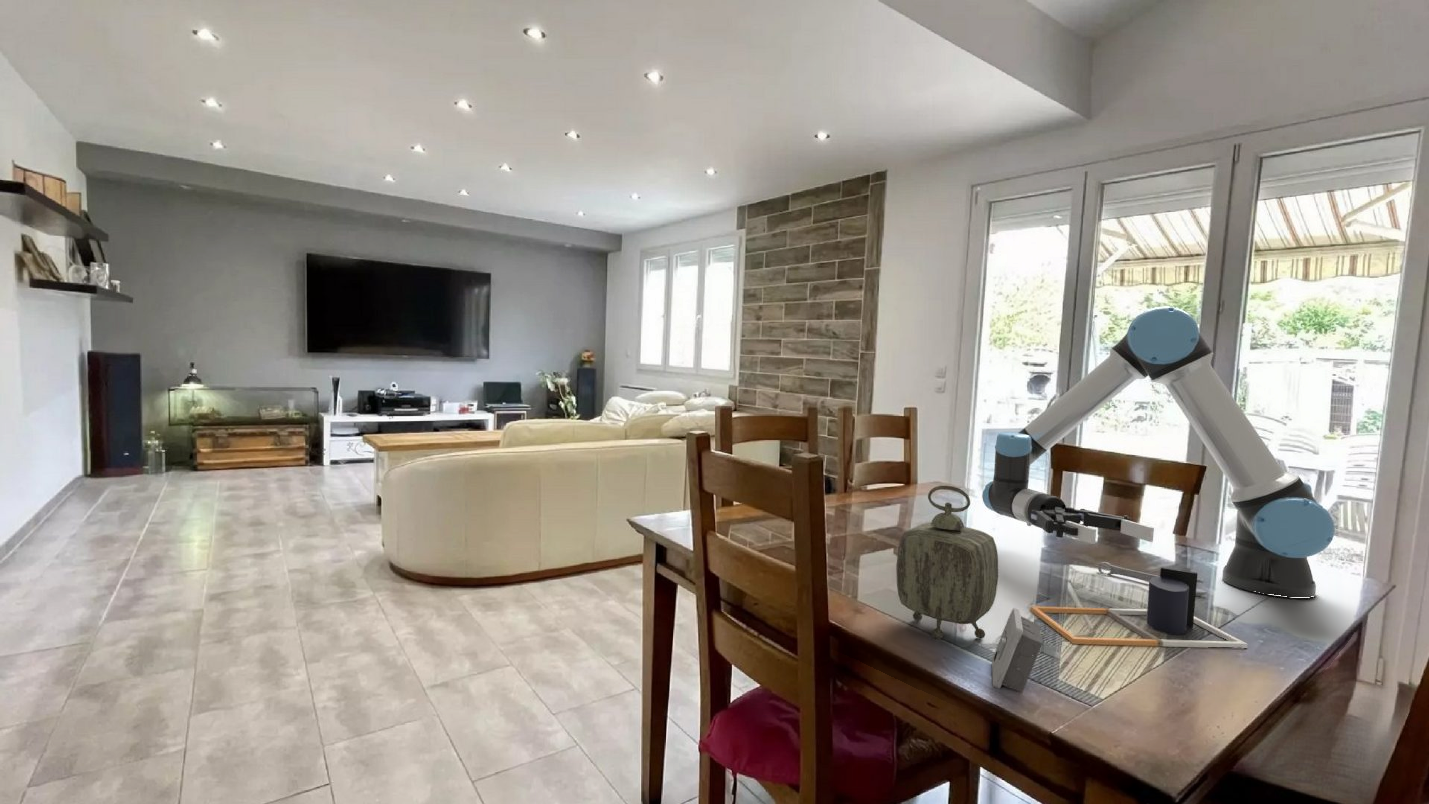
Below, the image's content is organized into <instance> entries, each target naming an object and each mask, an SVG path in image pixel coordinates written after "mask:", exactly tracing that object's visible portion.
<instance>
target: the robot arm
mask: <svg viewBox="0 0 1429 804" xmlns="http://www.w3.org/2000/svg"><path fill="white" fill-rule="evenodd" d="M1213 356H1214V352H1213V350H1212V348H1210V346H1209V345H1208V343H1207V342H1206V340H1205V339H1204V337H1203V336H1202V335H1201V333H1200V329H1199V327H1198V323H1197V321H1196V320H1195V319H1194V317H1192V315H1191V314H1190V313H1188V312H1187V311H1184V310H1183V309H1180V308H1178V307H1175V306H1169V305H1167V306H1156V307H1151V308H1150V309H1147V310H1145V311H1143V312H1142V313H1140V314H1139V315H1136V317H1135V318H1134V319H1133V320H1132V321H1131V322H1130V324H1129V326H1128V330H1127V333H1125V335H1123V337H1122V338H1121V339H1120V340H1119V341H1118V342H1117V343H1116V344H1115V345H1114V346H1112V348H1111V349H1110V351H1109V356H1108V357H1107V358H1106V359H1104V360H1103V361H1101V363H1099V364H1098V365H1097V366H1096V367H1095V368H1094V369H1093V370H1091V371H1090V372H1089V373H1088V374H1086V375H1085V376H1084V377H1083V378H1082V379H1080V380H1079V381H1078V382H1077V383H1076V384H1074V386H1073V387H1070V388H1069V390H1068V391H1066V392H1065V393H1063V394H1062V396H1060V397H1058V399H1057V400H1055V402H1053V403H1052V404H1051V405H1050V406H1049V407H1047V408H1046V409H1045V410H1044V411H1042V412H1041V413H1040V414H1039V415H1038V416H1036V418H1034V419H1033V420H1032V421H1030V423H1028V424H1027V425H1026V426H1024V428H1023V429H1021V430H1020V431H1019V432H1000V433H997V434H998V435H997V436H996V440H995V441H996V442H995V445H994V449H995V451H994V452H995V453H994V454H995V455H994V470H993V471H994V473H993V478H992V480H991V481H990V482H988V483H987V484H986V485H985V487H984V489H983V491H982V494H981V499H982V503H983V504H984V506H985V507H986V508H987V509H989V510H990V511H993V512H995V513H997V514H998V515H1001V516H1005V517H1008V518H1011V519H1014V520H1017V521H1020V522H1023V523H1025V524H1026V525H1027V526H1028V527H1032V526H1034V527H1036V528H1040V529H1042V530H1043V531H1044V532H1046V533H1048V534H1053V533H1054V532H1056V533H1055V534H1056V535H1055V537H1057V538H1064V535H1065V536H1067V537H1070V538H1073V539H1076V540H1079V541H1082V542H1084V543H1087V544H1091V545H1095V544H1096V538H1097V529H1102V530H1103V529H1105V530H1110V531H1117V532H1120V534H1123V535H1126V536H1131V537H1132V538H1137V539H1140V540H1142V541H1146V542H1149V543H1153V542H1154V531H1155V527H1153V526H1148V525H1146V524H1142V523H1138V522H1135V521H1133V520H1132V518H1131V517H1129V516H1128V515H1125V514H1124V515H1123V516H1121V515H1114V514H1111V513H1110V514H1109V513H1104V512H1098V511H1092V510H1090V509H1085V508H1080V509H1077V508H1076V509H1075V507H1070V506H1067V505H1066V503H1065V502H1064V501H1063V500H1062V499H1061V498H1060V497H1059V496H1057V495H1052V494H1047V493H1046V492H1043V491H1042V492H1041V491H1038V490H1036V489H1035V490H1034V489H1030V488H1029V480H1030V479H1029V478H1030V466H1031V465H1032V464H1033V463H1035V461H1037V460H1038V459H1039V458H1040V457H1041V456H1043V455H1044V454H1045V453H1046V452H1047V451H1049V450H1050V449H1052V448H1053V446H1055V445H1056V444H1057V443H1059V441H1061V440H1062V439H1063V438H1065V437H1066V436H1067V435H1069V434H1070V433H1071V432H1073V430H1075V429H1076V428H1077V427H1078V426H1079V425H1081V424H1082V423H1083V422H1085V421H1086V420H1087V419H1088V418H1089V417H1091V416H1092V415H1093V414H1095V413H1096V412H1097V411H1099V410H1100V409H1101V408H1102V407H1103V406H1105V405H1106V404H1107V403H1108V402H1109V401H1111V400H1112V399H1113V398H1114V397H1116V396H1117V395H1119V393H1121V392H1123V390H1125V389H1126V388H1127V387H1128V386H1129V385H1132V383H1134V381H1137V380H1143V379H1146V378H1147V377H1149V379H1150V380H1151V381H1152V382H1154V383H1157V384H1161V385H1164V386H1165V387H1166V389H1167V390H1168V392H1169V393H1170V396H1171V397H1172V398H1173V399H1174V401H1175V403H1176V405H1178V407H1179V409H1180V410H1181V411H1182V413H1183V414H1184V417H1185V418H1186V419H1187V421H1188V422H1189V424H1190V426H1191V427H1192V428H1193V430H1194V431H1195V433H1196V434H1197V436H1198V437H1199V438H1200V440H1201V442H1202V444H1204V446H1205V448H1206V449H1207V451H1208V452H1209V454H1210V455H1211V457H1212V459H1213V460H1214V461H1215V462H1216V464H1217V466H1218V467H1219V469H1220V470H1221V471H1222V473H1223V475H1224V476H1225V478H1226V479H1227V480H1228V483H1229V484H1230V485H1231V487H1232V488H1233V489H1232V493H1231V496H1230V499H1229V500H1230V501H1231V503H1232V504H1233V506H1234V507H1235V509H1236V510H1237V514H1236V523H1235V524H1236V525H1235V526H1236V527H1235V541H1234V547H1233V548H1232V551H1231V552H1230V555H1229V557H1228V560H1227V563H1226V565H1224V567H1222V568H1223V569H1222V577H1221V579H1222V581H1223V582H1224V583H1227V584H1228V585H1230V586H1233V587H1236V588H1238V589H1241V588H1242V589H1241V590H1244V589H1245V591H1248V592H1251V591H1256V592H1260V593H1264V594H1263V595H1265V594H1274V595H1281V596H1287V597H1311V596H1314V595H1315V596H1316V591H1317V584H1316V581H1314V578H1313V574H1312V570H1311V565H1310V564H1309V561H1308V557H1309V558H1310V557H1311V556H1315V555H1318V554H1319V553H1321V552H1324V551H1325V549H1327V547H1328V546H1329V545H1330V544H1331V542H1332V541H1333V539H1334V536H1335V532H1336V531H1335V524H1334V520H1333V517H1332V515H1331V514H1330V513H1329V511H1328V510H1327V509H1326V508H1324V507H1323V505H1321V504H1320V503H1318V501H1317V500H1316V499H1315V497H1314V495H1313V492H1312V491H1313V490H1312V486H1311V485H1310V484H1308V483H1306V482H1303V480H1302V479H1301V477H1300V476H1299V475H1298V474H1295V473H1293V472H1288V471H1286V470H1283V468H1282V467H1281V464H1280V463H1279V462H1278V461H1277V459H1276V458H1275V456H1274V455H1273V454H1272V452H1271V451H1270V449H1269V448H1268V446H1267V445H1266V443H1265V442H1264V441H1263V439H1262V437H1261V436H1260V435H1259V433H1258V432H1257V430H1256V429H1255V427H1254V426H1253V424H1252V423H1251V421H1250V420H1249V419H1248V417H1247V416H1246V414H1245V413H1244V412H1243V410H1242V408H1241V407H1240V405H1239V404H1238V403H1237V401H1236V400H1235V399H1234V397H1233V395H1232V394H1231V393H1230V391H1229V390H1228V388H1227V386H1226V385H1225V384H1224V382H1223V381H1222V379H1221V378H1220V377H1219V375H1218V374H1217V372H1216V370H1215V369H1214V368H1213V366H1212V364H1211V361H1212V359H1213ZM1096 528H1097V529H1096ZM1260 593H1259V594H1260Z"/></svg>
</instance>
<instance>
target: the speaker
mask: <svg viewBox="0 0 1429 804" xmlns="http://www.w3.org/2000/svg"><path fill="white" fill-rule="evenodd" d="M1159 572H1160V573H1159V576H1160V577H1152V578H1151V579H1150V580H1149V581H1148V590H1147V591H1148V594H1147V595H1148V596H1147V608H1146V609H1147V615H1146V624H1147V626H1149V627H1150V628H1152V629H1153V630H1155V631H1158V632H1161V633H1164V634H1166V635H1184V633H1185V632H1186V631H1187V628H1188V629H1190V628H1191V629H1194V623H1193V621H1194V616H1195V608H1196V597H1197V596H1196V591H1197V587H1198V586H1197V585H1198V583H1197V578H1198V574H1199V573H1198V572H1194V571H1188V570H1182V569H1176V568H1170V567H1163V566H1160V571H1159Z"/></svg>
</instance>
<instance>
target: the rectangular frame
mask: <svg viewBox="0 0 1429 804" xmlns="http://www.w3.org/2000/svg"><path fill="white" fill-rule="evenodd" d="M1029 607H1030V609H1029V611H1030V612H1031V613H1033V614H1034V615H1035V616H1037V617H1038V618H1039V619H1040V620H1042V621H1044V622H1045V623H1046V624H1047V625H1048V626H1050V627H1051V628H1052V629H1053V630H1055V631H1056V632H1057V633H1059V634H1060V635H1061V636H1062V637H1064V638H1065V639H1066V640H1068V641H1069V642H1070V643H1072V644H1073V645H1101V646H1104V645H1106V646H1108V645H1109V646H1135V647H1136V646H1137V647H1139V646H1142V647H1144V646H1145V647H1170V648H1171V647H1175V648H1178V647H1179V648H1181V647H1182V648H1208V647H1243V648H1242V649H1244V648H1247V649H1248V643H1246V642H1244V640H1241V639H1239V638H1237V637H1235V636H1233V635H1231V634H1229V633H1227V632H1225V631H1223V630H1222V629H1219V628H1217V627H1216V626H1214V625H1212V624H1210V623H1208V622H1206V621H1205V620H1202V619H1200V618H1198V617H1197V616H1195V615H1194V621H1193V624H1196V625H1197V626H1199V627H1201V628H1203V629H1205V630H1207V631H1208V632H1210V633H1212V634H1214V635H1215V636H1218V637H1220V638H1221V637H1222V639H1223V638H1224V639H1223V640H1194V639H1193V640H1192V639H1190V640H1189V639H1188V640H1187V639H1160V638H1158V637H1156V636H1155V635H1153V634H1151V633H1150V632H1148V631H1147V630H1146V629H1143V628H1142V627H1140V626H1139V625H1138V624H1136V623H1133V622H1132V621H1131V620H1129V619H1127V618H1125V617H1124V616H1126V615H1127V616H1128V615H1129V616H1132V615H1133V616H1147V608H1146V609H1144V608H1143V609H1142V608H1110V607H1109V608H1108V607H1105V608H1103V607H1072V606H1071V607H1070V606H1069V607H1067V606H1066V607H1065V606H1040V605H1039V606H1038V605H1037V606H1035V605H1034V606H1033V605H1032V606H1031V605H1030V606H1029ZM1046 613H1048V614H1049V613H1051V614H1052V613H1053V614H1055V613H1057V614H1083V615H1084V614H1090V615H1091V614H1093V615H1108V616H1109V617H1110V618H1112V619H1114V620H1115V621H1117V622H1119V623H1120V624H1121V625H1123V626H1125V627H1126V628H1128V629H1130V630H1132V632H1134V633H1137V634H1138V635H1140V636H1141V637H1142V638H1123V637H1122V638H1119V637H1087V636H1086V637H1083V636H1082V637H1080V636H1075V635H1074V634H1072V633H1071V632H1070V631H1068V630H1067V629H1066V628H1064V627H1063V626H1062V625H1061V624H1059V623H1058V622H1056V621H1055V620H1054V619H1052V618H1051V617H1050V616H1048V615H1047V614H1046ZM1122 615H1124V616H1122ZM1225 639H1226V640H1225ZM1224 640H1225V641H1224Z"/></svg>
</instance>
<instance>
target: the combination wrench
mask: <svg viewBox="0 0 1429 804" xmlns="http://www.w3.org/2000/svg"><path fill="white" fill-rule="evenodd" d="M1102 565H1106V566H1109V569H1110V571H1109V572H1104V571H1102V569H1101V568H1102V567H1101V566H1102ZM1097 569H1098V572H1099V573H1100V575H1101V574H1102V575H1105V576H1110V575H1119V576H1123V577H1129V578H1131V579H1132V578H1133V579H1138V580H1143V581H1146V582H1149V580H1150V579H1151V578H1152V577H1160V575H1156V574H1153V573H1147V572H1144V571H1143V572H1142V571H1138V570H1132V569H1129V568H1124V567H1120V566H1116V565H1113V564H1111V563H1110V562H1107V561H1102V562H1100V564H1098V566H1097ZM1198 583H1199V584H1200V583H1202V584H1203V583H1205V581H1204V580H1203V579H1200V578H1198V577H1197V584H1198ZM1206 594H1208V591H1197V590H1196V597H1202V596H1204V595H1206Z"/></svg>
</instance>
